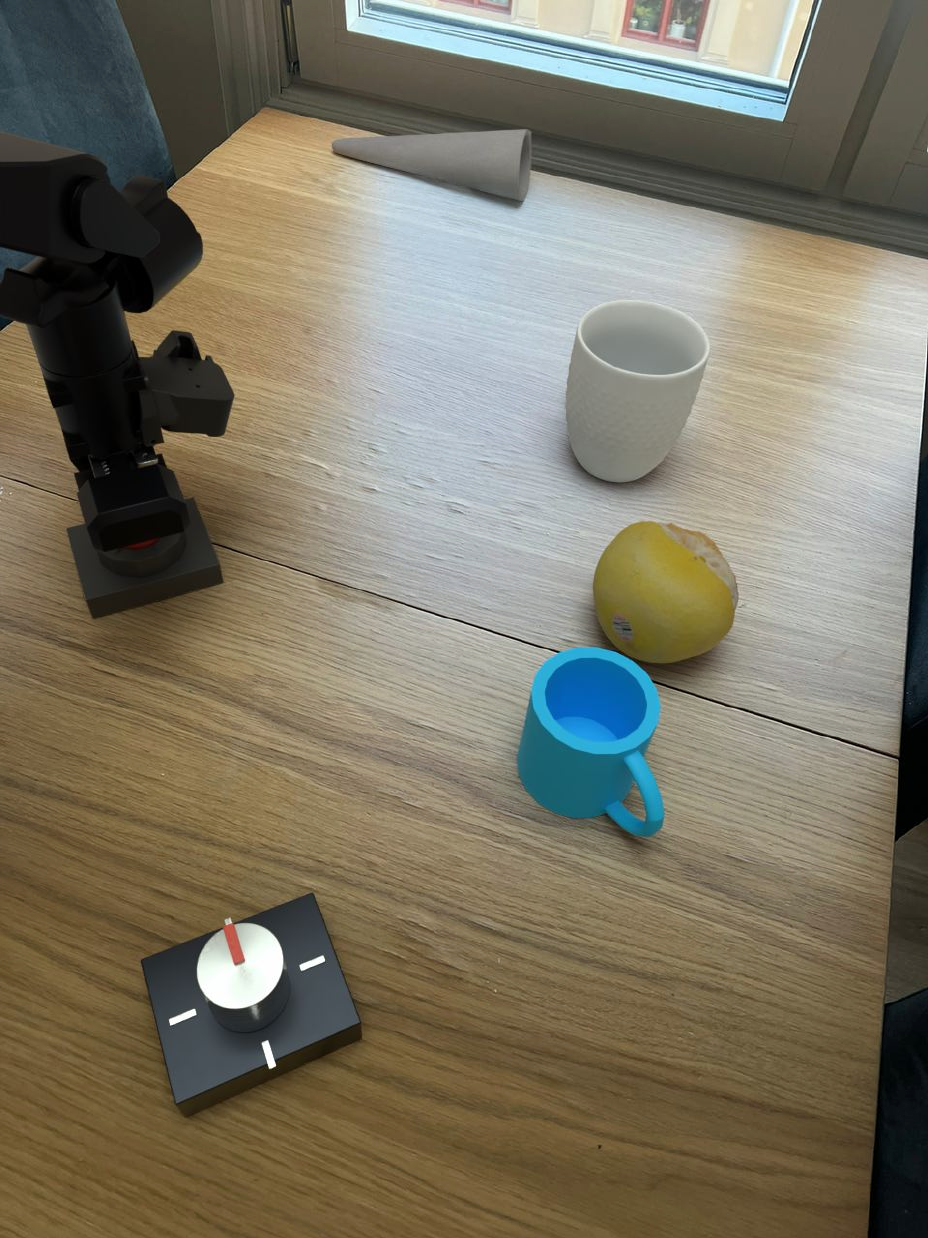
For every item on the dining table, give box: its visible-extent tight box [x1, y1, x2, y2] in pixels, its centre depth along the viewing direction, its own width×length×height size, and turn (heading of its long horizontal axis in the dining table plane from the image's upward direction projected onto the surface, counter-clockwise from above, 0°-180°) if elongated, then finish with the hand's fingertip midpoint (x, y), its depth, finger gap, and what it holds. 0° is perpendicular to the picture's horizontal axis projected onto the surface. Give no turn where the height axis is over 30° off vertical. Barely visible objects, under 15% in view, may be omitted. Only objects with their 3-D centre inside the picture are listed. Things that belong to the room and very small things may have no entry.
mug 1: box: [564, 299, 711, 483], centre depth 82 cm, size 15×11×13 cm
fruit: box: [592, 520, 740, 664], centre depth 69 cm, size 10×11×10 cm
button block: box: [65, 496, 224, 620], centre depth 72 cm, size 10×8×4 cm
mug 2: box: [516, 646, 665, 838], centre depth 61 cm, size 12×8×8 cm
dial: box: [196, 922, 290, 1032], centre depth 49 cm, size 4×4×4 cm
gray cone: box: [331, 128, 532, 202], centre depth 116 cm, size 8×9×26 cm
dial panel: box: [140, 892, 363, 1118], centre depth 52 cm, size 10×9×3 cm
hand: (136, 526), depth 70 cm, fingers closed, pressing on button
